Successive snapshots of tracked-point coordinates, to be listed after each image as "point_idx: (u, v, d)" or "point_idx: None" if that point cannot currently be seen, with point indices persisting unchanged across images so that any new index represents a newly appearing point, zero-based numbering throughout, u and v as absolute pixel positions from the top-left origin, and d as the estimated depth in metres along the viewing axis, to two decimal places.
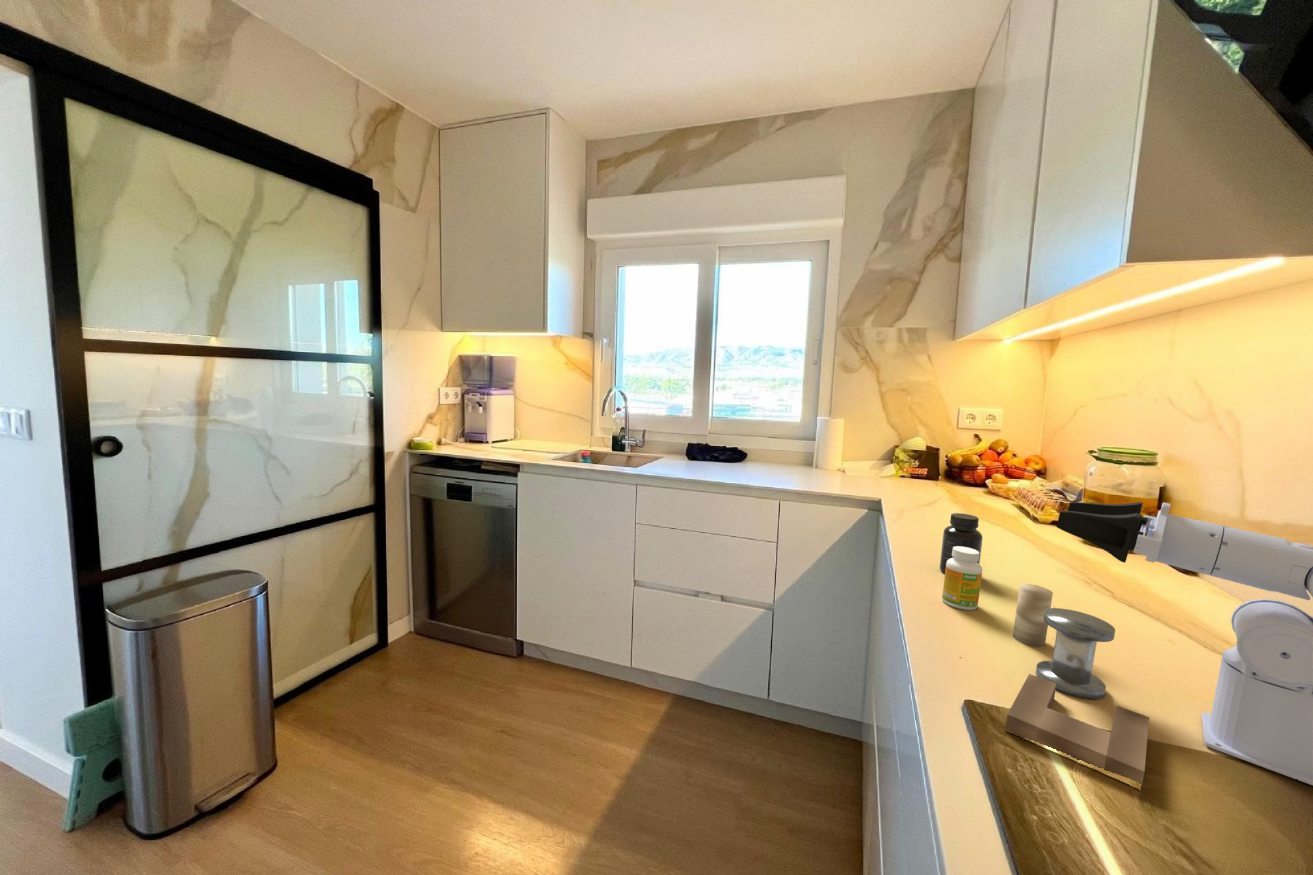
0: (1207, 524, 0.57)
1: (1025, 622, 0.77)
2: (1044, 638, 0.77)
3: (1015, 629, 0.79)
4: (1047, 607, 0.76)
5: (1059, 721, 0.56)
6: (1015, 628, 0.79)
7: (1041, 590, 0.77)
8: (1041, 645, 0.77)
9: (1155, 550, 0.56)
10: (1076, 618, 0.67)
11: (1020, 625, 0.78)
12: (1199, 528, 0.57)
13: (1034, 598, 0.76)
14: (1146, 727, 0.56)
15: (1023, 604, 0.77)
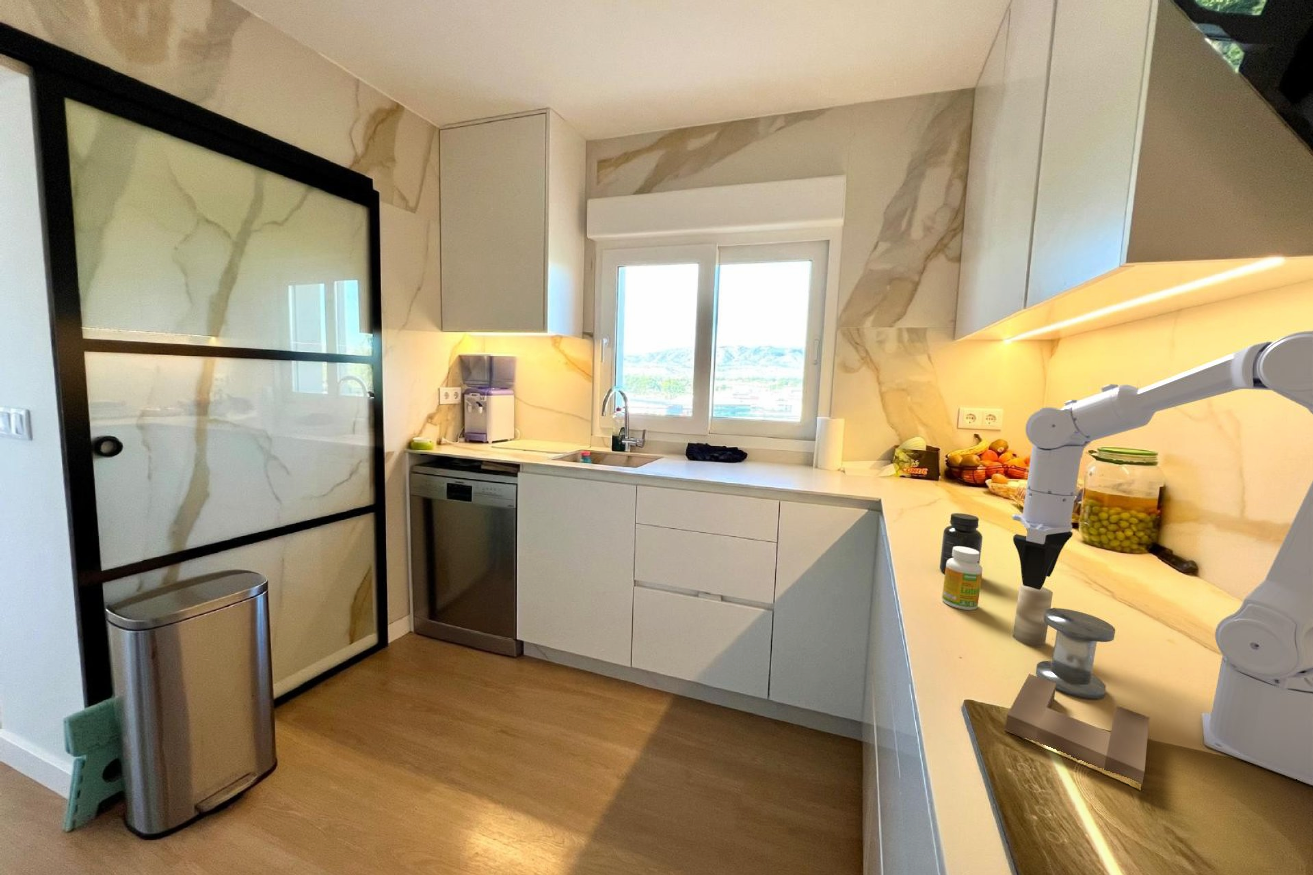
0: (1025, 495, 0.77)
1: (1025, 622, 0.77)
2: (1044, 638, 0.77)
3: (1015, 629, 0.79)
4: (1047, 607, 0.76)
5: (1059, 721, 0.56)
6: (1015, 628, 0.79)
7: (1041, 590, 0.77)
8: (1041, 645, 0.77)
9: (1037, 531, 0.71)
10: (1076, 618, 0.67)
11: (1020, 625, 0.78)
12: (1027, 500, 0.76)
13: (1034, 598, 0.76)
14: (1146, 727, 0.56)
15: (1023, 604, 0.77)
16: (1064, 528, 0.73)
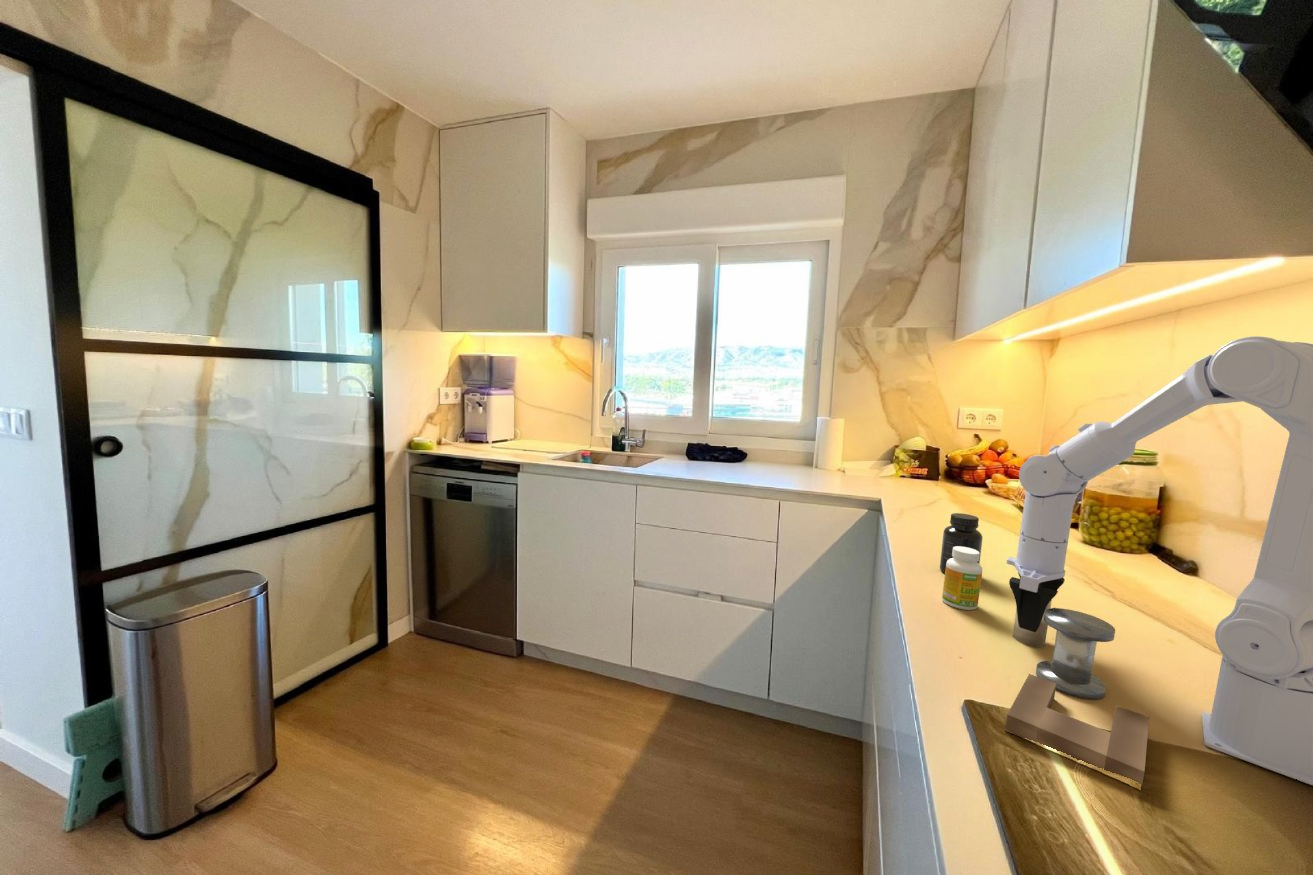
0: (1019, 540, 0.78)
1: None
2: (1044, 638, 0.77)
3: (1015, 629, 0.79)
4: (1047, 607, 0.76)
5: (1059, 721, 0.56)
6: (1015, 628, 0.79)
7: None
8: (1041, 645, 0.77)
9: (1030, 579, 0.72)
10: (1076, 618, 0.67)
11: None
12: (1020, 546, 0.77)
13: None
14: (1146, 727, 0.56)
15: None
16: (1057, 575, 0.74)
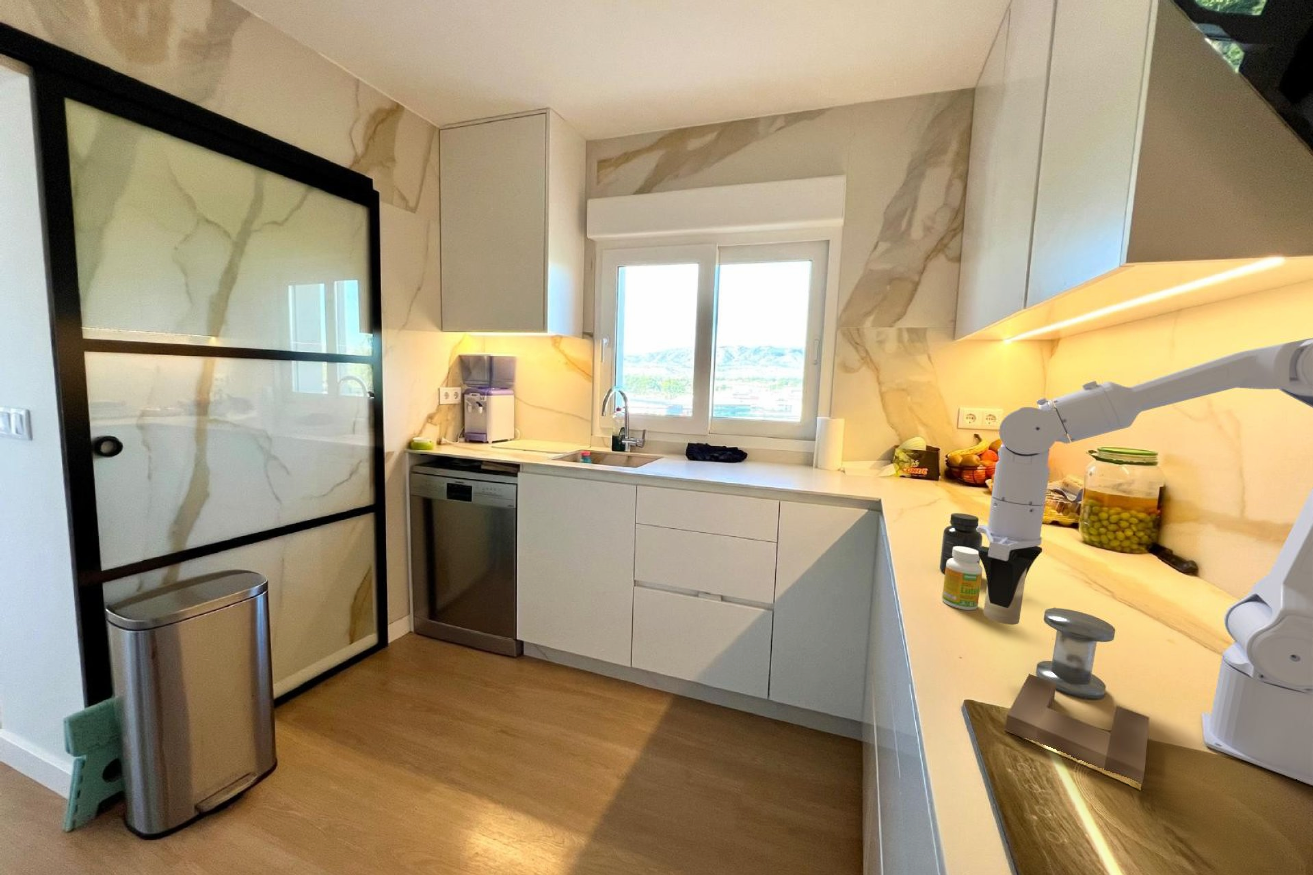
0: None
1: None
2: (1018, 615, 0.68)
3: (986, 605, 0.70)
4: (1021, 579, 0.67)
5: (1059, 721, 0.56)
6: (986, 604, 0.70)
7: None
8: (1014, 623, 0.68)
9: (1000, 546, 0.63)
10: (1076, 618, 0.67)
11: None
12: (992, 510, 0.68)
13: None
14: (1146, 727, 0.56)
15: None
16: (1032, 542, 0.65)
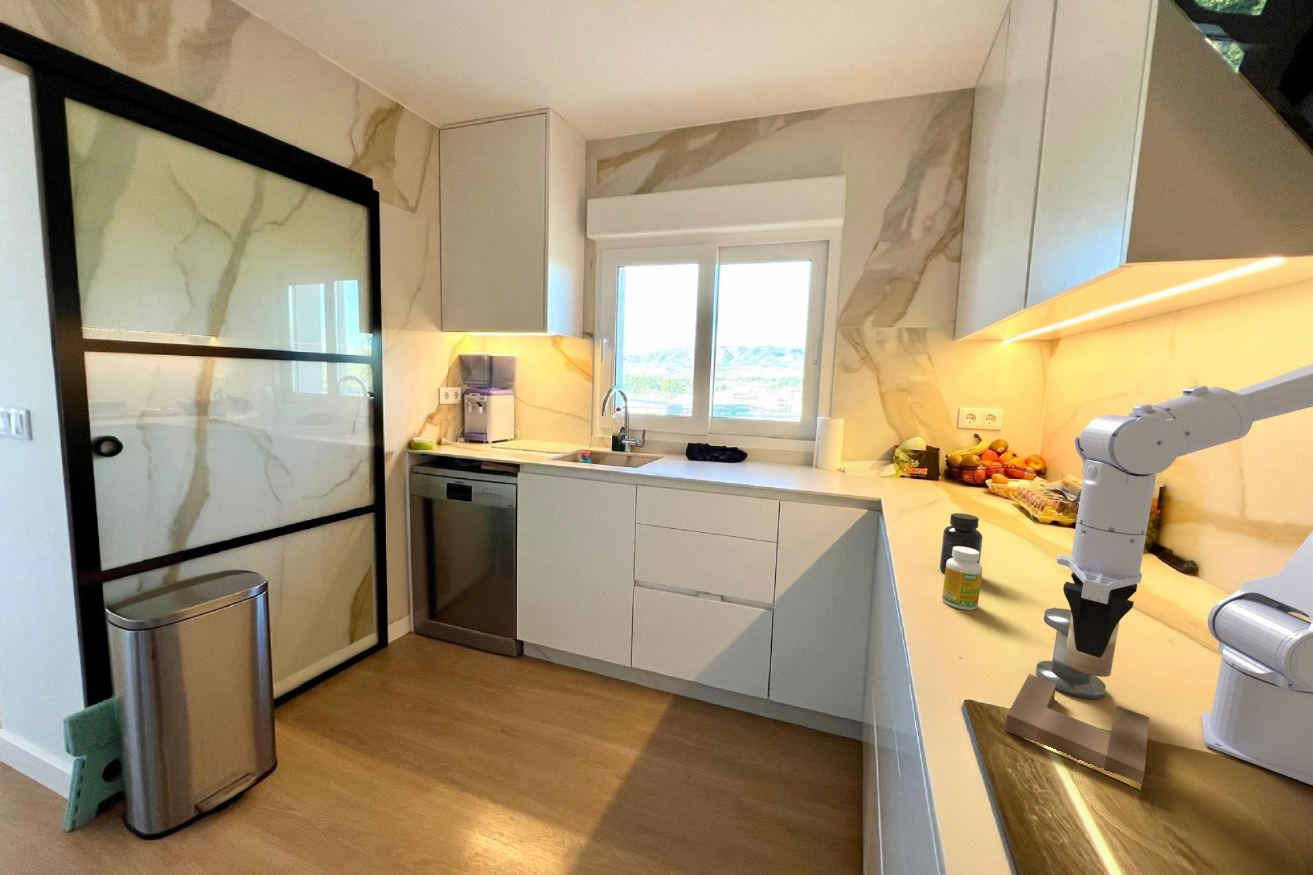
0: (1075, 532, 0.58)
1: None
2: (1110, 665, 0.56)
3: (1069, 652, 0.58)
4: None
5: (1059, 721, 0.56)
6: (1069, 650, 0.58)
7: None
8: (1106, 674, 0.56)
9: (1098, 585, 0.51)
10: None
11: None
12: (1078, 539, 0.57)
13: None
14: (1146, 727, 0.56)
15: None
16: (1132, 579, 0.53)
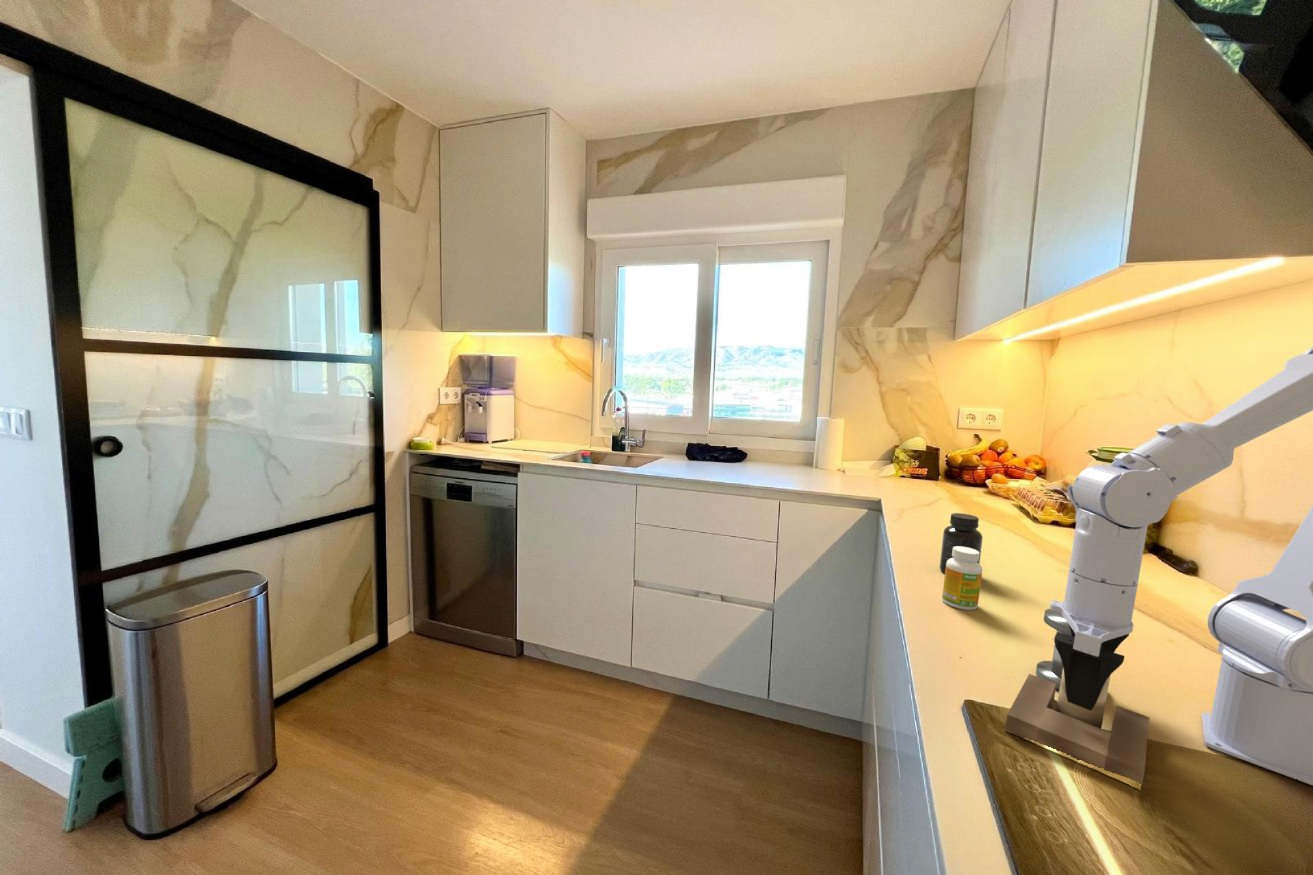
0: (1068, 579, 0.58)
1: None
2: (1100, 725, 0.57)
3: (1059, 710, 0.59)
4: (1105, 684, 0.56)
5: (1059, 721, 0.56)
6: (1059, 708, 0.59)
7: None
8: None
9: (1089, 638, 0.52)
10: None
11: (1066, 706, 0.58)
12: (1071, 587, 0.57)
13: None
14: (1146, 727, 0.56)
15: None
16: (1124, 630, 0.54)
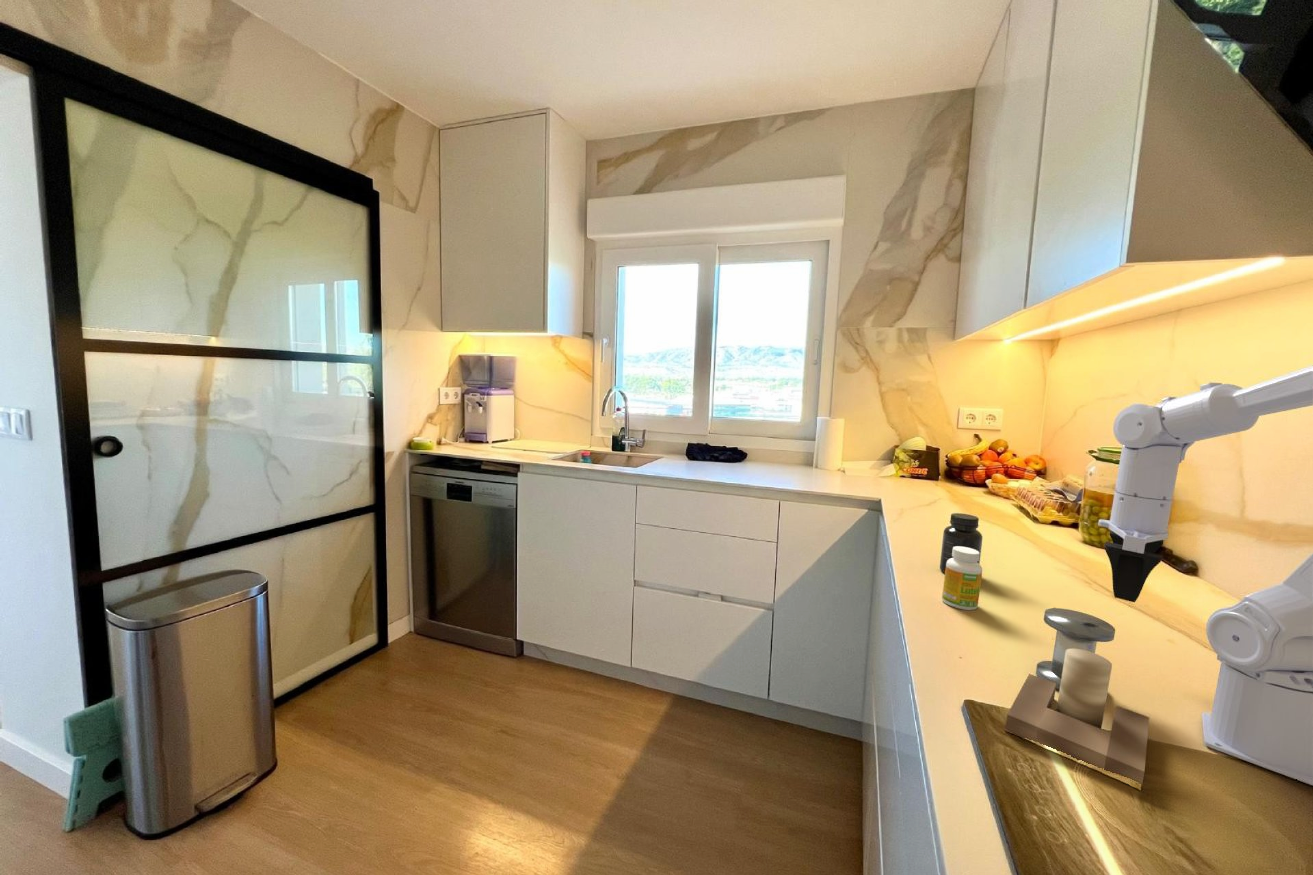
0: (1114, 500, 0.71)
1: (1074, 703, 0.57)
2: (1100, 725, 0.57)
3: (1059, 710, 0.59)
4: (1105, 684, 0.56)
5: (1059, 721, 0.56)
6: (1059, 708, 0.59)
7: (1096, 660, 0.58)
8: None
9: (1136, 539, 0.65)
10: (1076, 618, 0.67)
11: (1066, 706, 0.58)
12: (1117, 505, 0.71)
13: (1086, 672, 0.57)
14: (1146, 727, 0.56)
15: (1071, 678, 0.58)
16: (1162, 535, 0.67)
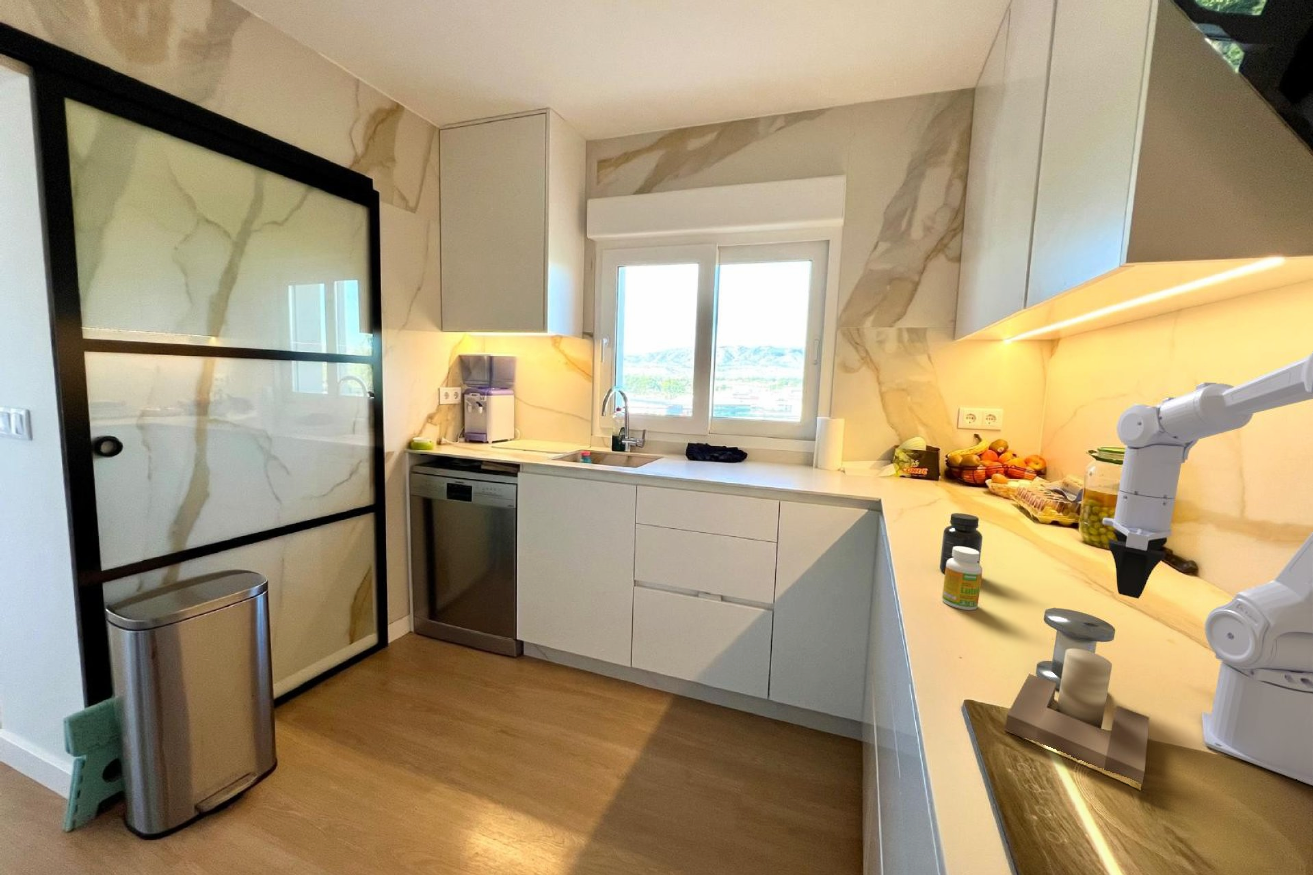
0: (1118, 498, 0.73)
1: (1074, 703, 0.57)
2: (1100, 725, 0.57)
3: (1059, 710, 0.59)
4: (1105, 684, 0.56)
5: (1059, 721, 0.56)
6: (1059, 708, 0.59)
7: (1096, 660, 0.58)
8: None
9: (1139, 536, 0.67)
10: (1076, 618, 0.67)
11: (1066, 706, 0.58)
12: (1121, 504, 0.72)
13: (1086, 672, 0.57)
14: (1146, 727, 0.56)
15: (1071, 678, 0.58)
16: (1165, 533, 0.69)
